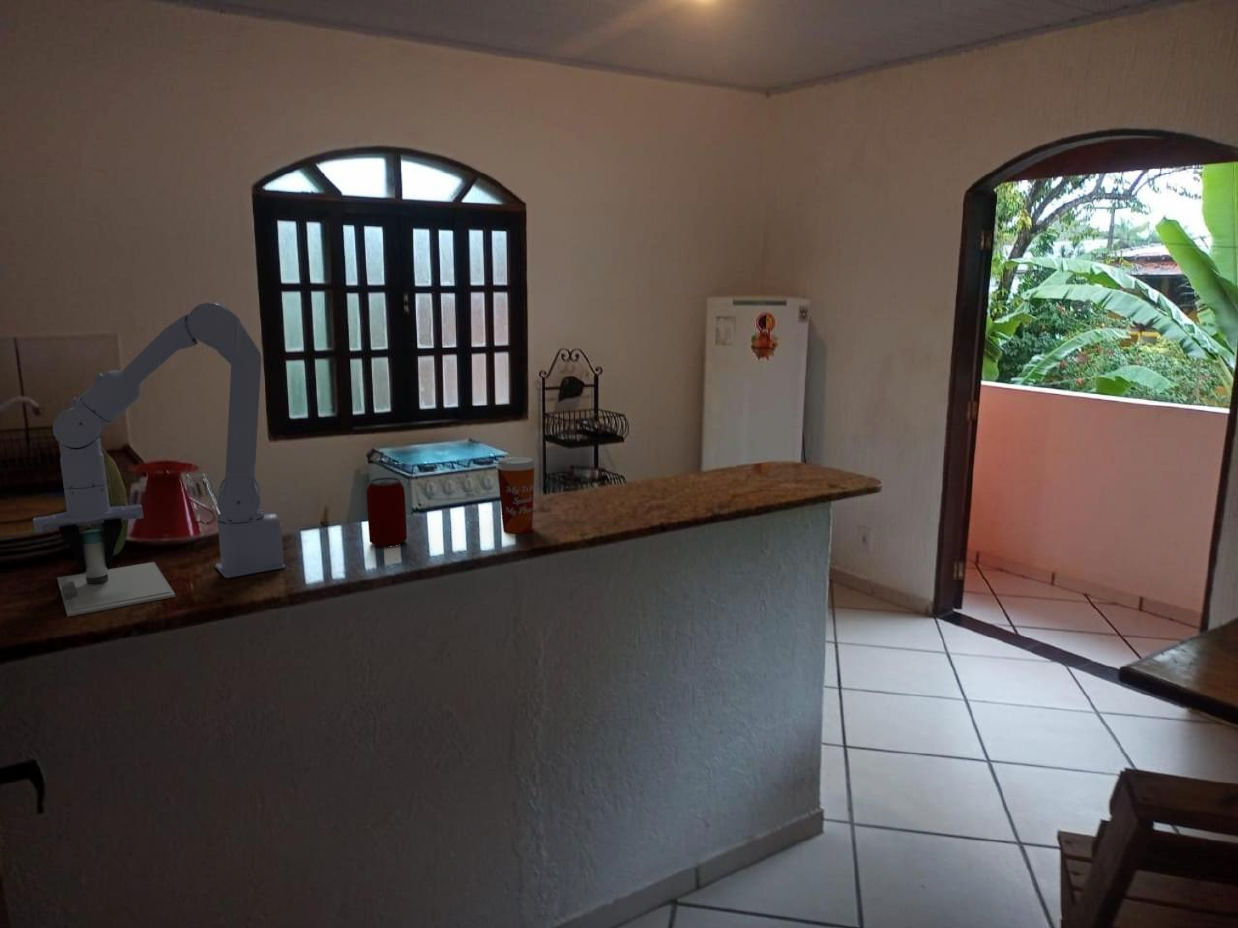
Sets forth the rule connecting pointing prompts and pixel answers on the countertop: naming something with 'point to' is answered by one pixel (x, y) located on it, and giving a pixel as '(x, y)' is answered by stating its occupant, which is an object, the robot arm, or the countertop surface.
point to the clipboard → (114, 589)
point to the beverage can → (386, 512)
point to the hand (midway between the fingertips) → (96, 568)
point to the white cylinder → (94, 556)
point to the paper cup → (516, 493)
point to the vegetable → (114, 498)
